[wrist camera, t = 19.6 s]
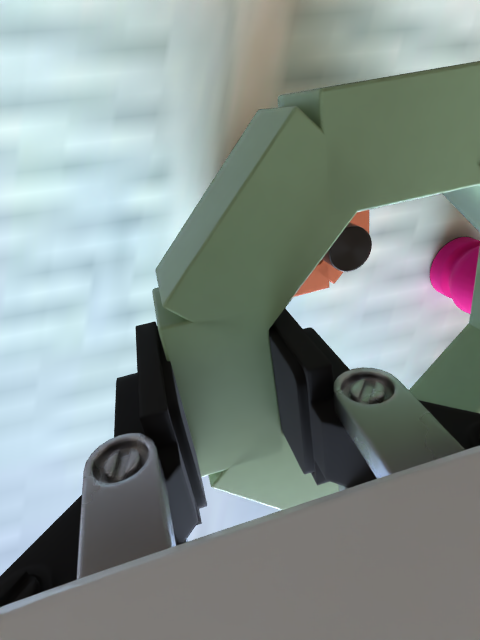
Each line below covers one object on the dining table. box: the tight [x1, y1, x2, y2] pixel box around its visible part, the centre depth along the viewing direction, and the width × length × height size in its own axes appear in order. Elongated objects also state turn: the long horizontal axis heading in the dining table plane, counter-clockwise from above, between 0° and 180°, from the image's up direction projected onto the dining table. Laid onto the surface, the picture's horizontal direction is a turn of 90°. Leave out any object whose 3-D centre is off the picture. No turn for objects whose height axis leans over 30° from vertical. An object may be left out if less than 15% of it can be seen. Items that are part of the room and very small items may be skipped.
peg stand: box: [322, 222, 372, 272], centre depth 31 cm, size 8×8×11 cm
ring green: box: [153, 61, 480, 510], centre depth 12 cm, size 12×12×2 cm
